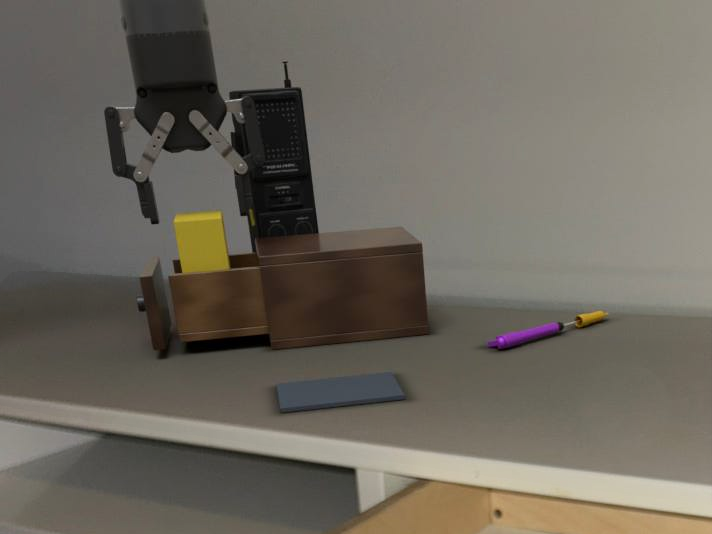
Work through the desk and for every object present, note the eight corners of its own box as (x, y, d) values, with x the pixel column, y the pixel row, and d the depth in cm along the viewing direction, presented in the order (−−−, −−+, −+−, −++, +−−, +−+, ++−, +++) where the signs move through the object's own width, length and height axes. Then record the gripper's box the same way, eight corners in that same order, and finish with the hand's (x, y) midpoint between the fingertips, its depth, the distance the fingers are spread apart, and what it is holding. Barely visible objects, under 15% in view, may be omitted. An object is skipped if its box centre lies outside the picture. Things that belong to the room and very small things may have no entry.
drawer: (140, 351, 103) (125, 277, 100) (148, 326, 114) (135, 258, 111) (304, 335, 106) (294, 263, 102) (296, 312, 116) (288, 245, 113)
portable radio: (263, 321, 118) (226, 64, 106) (250, 312, 123) (212, 65, 111) (331, 311, 121) (302, 60, 109) (315, 303, 125) (286, 61, 114)
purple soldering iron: (503, 348, 99) (611, 319, 109) (501, 335, 99) (609, 307, 108) (484, 352, 101) (592, 322, 111) (481, 339, 100) (590, 310, 110)
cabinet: (271, 349, 105) (258, 256, 101) (266, 322, 117) (254, 238, 113) (428, 334, 107) (422, 242, 103) (408, 309, 119) (401, 226, 115)
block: (192, 328, 106) (173, 221, 101) (194, 315, 112) (176, 213, 107) (238, 324, 106) (221, 217, 102) (237, 311, 113) (221, 210, 108)
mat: (281, 412, 85) (280, 408, 85) (276, 388, 92) (276, 383, 92) (405, 399, 86) (404, 394, 86) (391, 376, 93) (391, 371, 93)
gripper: (245, 26, 101) (271, 209, 109) (90, 36, 99) (128, 221, 107) (247, 23, 95) (274, 217, 103) (81, 32, 93) (122, 230, 100)
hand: (199, 219), depth 105 cm, fingers open, 8 cm apart
